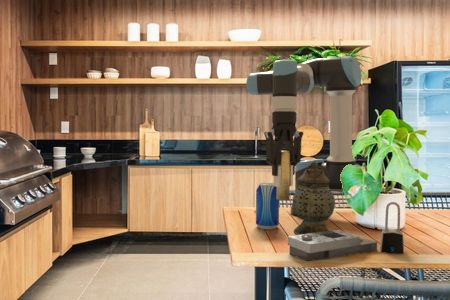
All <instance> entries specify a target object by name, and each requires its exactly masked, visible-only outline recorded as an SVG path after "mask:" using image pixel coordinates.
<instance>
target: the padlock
mask: <svg viewBox="0 0 450 300" xmlns="http://www.w3.org/2000/svg"><path fill="white" fill-rule="evenodd" d="M392 205H395V206H396V207H397V225H396V226H397V227H396V228H397V229H389V227H388V226H389V207H390V206H392ZM384 220H385V224H384V227H385V228H384V229H382V230H381V235H380V243H379V252H380V253H383V252H386V253H385V254H392V253H395V254H397V255H405V245H404V244H405V242H404V233H403V231H401V206H400V204H399V203H397V202H395V201H391V202H388V203H387V205H386V207H385V219H384Z"/></svg>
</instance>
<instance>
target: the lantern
mask: <svg viewBox="0 0 450 300" xmlns="http://www.w3.org/2000/svg"><path fill="white" fill-rule="evenodd" d="M309 167H310V169H308V168H309ZM317 167H319V168H320V169H321V170H318V169H317ZM298 181H300V184H299V187H298V189H297V190H296V192H295V191H294V195H293V197H292V203H293V208H294V211H295V213H296V214H297V215H298V216H297V217H298V218H299V219H300V220H302V222H301V223H300V224H299V225H297V227H295V228H294V229H293V234H295V235H301V234H309V233H316V232H323V231H330V230H331V229H330V228H329V227H328V226H327V224H326V222H325V221H328V220H329V219H330V217H331V216H332V215H333V213H334V211H335V207H336V205H335V203H336V199H335V197H334V193H333V191H331V190H330V189H329V184H328V183H330V181H329V179H328V178H327V177H326V176H325V174H324V170H323V168H322V167H320V166H318V165H317V163H316V162H312V163H311V164H310V165H309V166H308V167H307V168H306V170H305V172H304V173H303V175H302V176H301V177H299V178H298Z"/></svg>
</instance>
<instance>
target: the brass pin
mask: <svg viewBox="0 0 450 300" xmlns="http://www.w3.org/2000/svg"><path fill="white" fill-rule="evenodd" d="M278 166H281V187H277V199H278V200H279V201H288V200H290V191H291V190H290V188H291V186H290V151H286V150H281V155H280V160H279V165H278Z"/></svg>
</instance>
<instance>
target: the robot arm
mask: <svg viewBox="0 0 450 300" xmlns="http://www.w3.org/2000/svg"><path fill="white" fill-rule="evenodd" d="M272 65H273V66H272V70H270V71H264V72H254V73H250V74H249V75H248V77H247V78H246V89H247V92H248V93H249V94H250V95H253V96H263V95H264V96H265V95H266V96H267V95H269V96H270V95H272V97H271V98H272V105H271V106H272V108H271V109H272V113H271V122H272V126H271V130H270V129H269V130H267V131H264V132H263V135H264V137H265V158H266V159H265V161H266V163H267V164H269V165H270V166H271V176H272V177H273V183H274V186H276V187H281V166H278V165H279V160H280V155H281V151H282V150H283V149H282V147H283V145H285V151H290V187H293V186H294V193H295V192H296V190H297V189H298V187H299V184H300V181H298V178H299V177H301V176H302V175H303V173H304V172H305V170H306V168H307V167H308V166H309V165H310V164H311V163H312V162H316V163H317V165H318V166H320V167H322V168H323V170H324V174H325V176H326V177H327V178H328V179H329V181H330V183H328V184H329V189H330V190H331V192H335V193H341V194H345V193H344V192H343V188H342V183H341V181H340V174H341V172H342V170H343V168H344V167H345V166H346V165H348V164H352V165H357V166H360V167H361V165H360V164H359V163H357V161H356V158H355V157H354V156H353V95H354V94H355V92H356V91H357V87H359V86H360V85H361V83H362V72H361V71H362V70H361V66H360V64H359V61H358V60H357V58H355V56H349V55H348V56H345V55H344V56H335V57H324V58H323V57H321V58H315V59H311V60H307V61H304V62H299V63H298V62H297V61H296V60H294V59H280V60H275V61H274V62H273V64H272ZM313 88H325V93H326V94H328V96H329V156H328V157H327V158H326V159H325V160H324V158H315V159H307V160H301V157H302V156H301V155H302V138H303V135H304V132H303V131H299V130H297V127H296V123H297V116H298V115H297V112H296V110H297V109H298V97H297V96H298V95H306V94H308V93H310V92H311V91H312V90H313ZM273 110H274V111H273ZM351 147H352V149H351ZM352 156H353V157H354V159H353V157H352ZM325 161H326V162H325ZM308 169H310V167H309V168H308ZM317 169H318V170H321V169H320V168H319V167H317ZM294 176H295V178H294ZM294 179H295V180H294ZM294 182H295V183H294ZM290 214H291V215H293V216H297V217H298V215H297V214H296V213H295V211H294V208H293V202H292V204H291V207H290Z"/></svg>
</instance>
